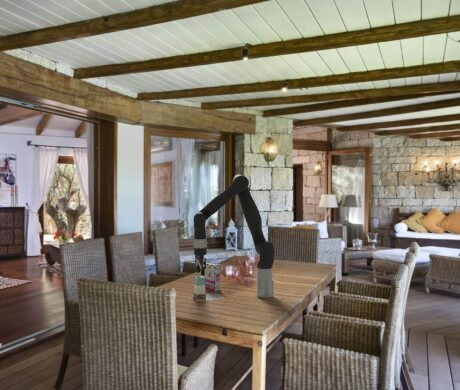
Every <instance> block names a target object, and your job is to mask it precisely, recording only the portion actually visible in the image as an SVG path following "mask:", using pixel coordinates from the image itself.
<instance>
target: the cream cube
mask: <svg viewBox="0 0 460 390" xmlns="http://www.w3.org/2000/svg"><path fill="white" fill-rule="evenodd" d="M193 288H194V290H193V291H194V293H195V294H197V295H199V294H206V288H205V285H202V286H196V285H195V283H194V286H193Z"/></svg>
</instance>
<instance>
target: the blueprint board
mask: <svg viewBox="0 0 460 390" xmlns="http://www.w3.org/2000/svg"><path fill="white" fill-rule="evenodd" d="M205 294H206V299H203V300H195V299H194V300H195V301H196V302H209V301H217V300H226V298H225V297H224V296H223V295H222V294H220V293H218V292H216V293H205ZM191 298H193V295H191Z"/></svg>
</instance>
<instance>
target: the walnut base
mask: <svg viewBox="0 0 460 390" xmlns="http://www.w3.org/2000/svg"><path fill="white" fill-rule="evenodd" d="M206 294H207V293H205V294H199V295H197V294H195V293H194V292H193V293H192V296H193V297H192V298H193V299H194V300H203V299H206Z"/></svg>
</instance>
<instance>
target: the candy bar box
mask: <svg viewBox="0 0 460 390" xmlns="http://www.w3.org/2000/svg"><path fill="white" fill-rule="evenodd" d="M221 268H222V267H221V264H218V263H213V262H206V269H205V275H204V277H205V279H204V285H205V290H209V291H213V292H217V291H221Z"/></svg>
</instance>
